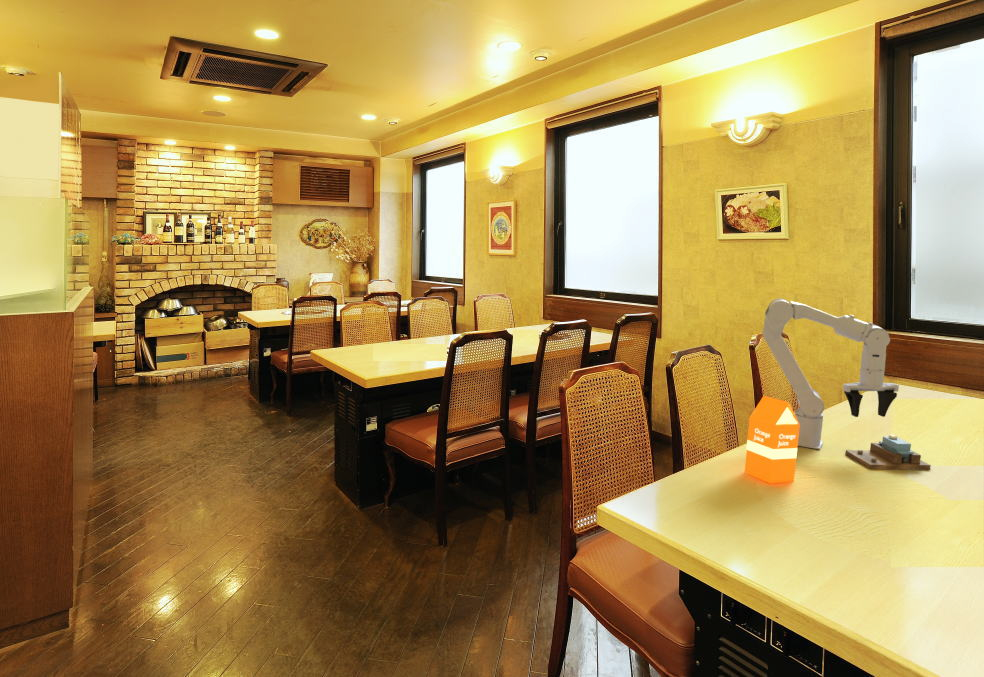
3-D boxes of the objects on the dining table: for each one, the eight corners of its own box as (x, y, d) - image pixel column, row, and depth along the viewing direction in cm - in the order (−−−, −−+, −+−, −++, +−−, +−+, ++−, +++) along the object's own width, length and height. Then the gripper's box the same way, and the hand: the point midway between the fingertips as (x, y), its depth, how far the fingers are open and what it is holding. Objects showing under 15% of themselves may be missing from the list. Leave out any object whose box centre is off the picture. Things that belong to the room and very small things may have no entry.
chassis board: (869, 468, 158) (871, 455, 158) (845, 454, 169) (846, 441, 168) (930, 469, 158) (931, 456, 158) (901, 454, 169) (903, 442, 169)
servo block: (912, 463, 159) (915, 443, 158) (898, 463, 159) (901, 443, 158) (890, 452, 168) (893, 432, 167) (877, 452, 168) (880, 432, 167)
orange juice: (767, 470, 157) (775, 395, 156) (794, 481, 149) (802, 402, 147) (743, 472, 155) (750, 395, 153) (769, 483, 147) (777, 403, 145)
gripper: (855, 372, 164) (851, 420, 166) (908, 371, 164) (903, 419, 166) (840, 367, 171) (836, 413, 173) (890, 366, 171) (886, 412, 173)
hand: (868, 415), depth 170 cm, fingers open, 7 cm apart
